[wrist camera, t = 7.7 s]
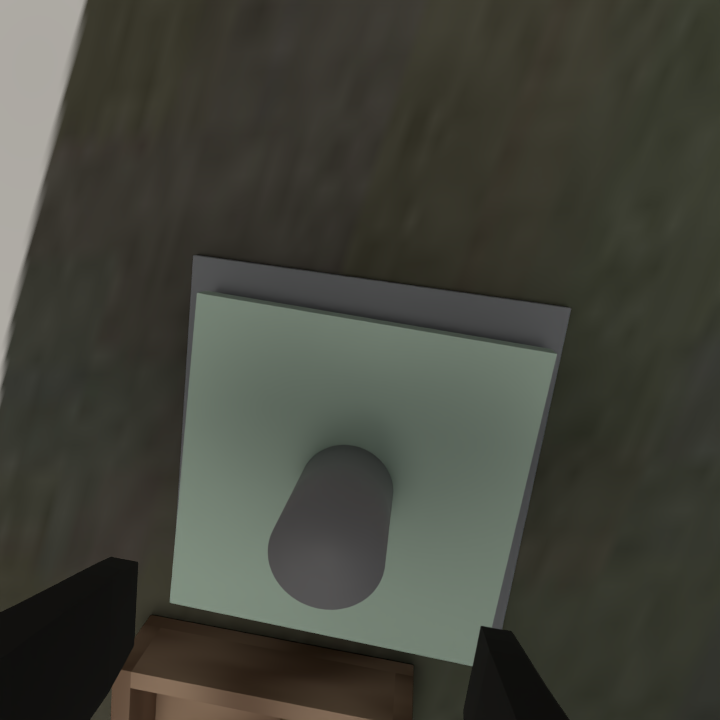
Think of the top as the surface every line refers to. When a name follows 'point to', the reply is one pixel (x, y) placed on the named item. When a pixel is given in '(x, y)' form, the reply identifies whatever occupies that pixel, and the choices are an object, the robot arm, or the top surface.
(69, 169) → the top surface
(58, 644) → the robot arm
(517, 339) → the slate mat
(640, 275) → the top surface
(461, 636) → the lid
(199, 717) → the walnut box
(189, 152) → the top surface
